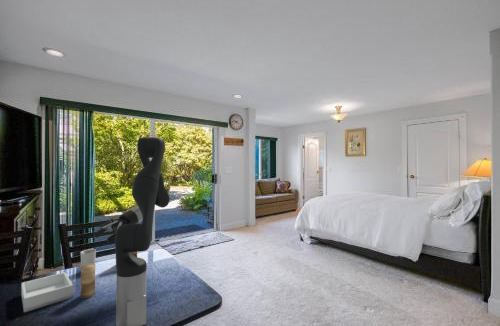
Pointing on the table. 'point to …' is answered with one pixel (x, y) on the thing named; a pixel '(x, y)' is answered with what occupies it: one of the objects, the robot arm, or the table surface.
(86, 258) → the drinking glass
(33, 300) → the tote
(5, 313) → the table surface
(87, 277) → the wooden cylinder
